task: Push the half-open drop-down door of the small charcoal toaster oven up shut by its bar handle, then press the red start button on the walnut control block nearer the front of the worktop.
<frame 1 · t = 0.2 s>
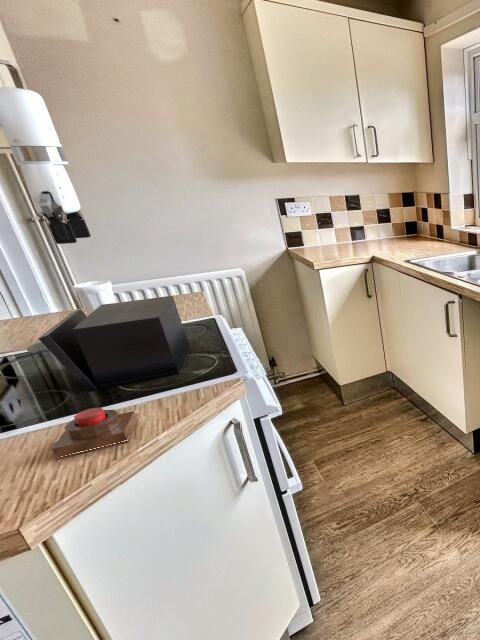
hand: (74, 240, 94), 29 cm above the worktop, tool pointing down, fingers open, 9 cm apart
oven door: (74, 352, 94), point 6 cm above the worktop, hinge at 14.6°
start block: (100, 439, 73), on the worktop
cup: (111, 331, 125), on the worktop
oven: (149, 365, 101), on the worktop
start button: (90, 417, 72), point 4 cm above the worktop, slide at 0.1 cm
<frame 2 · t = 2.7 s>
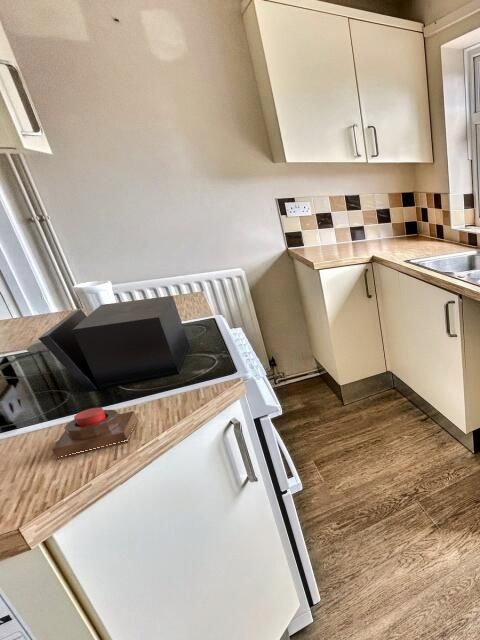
nothing on the worktop moved.
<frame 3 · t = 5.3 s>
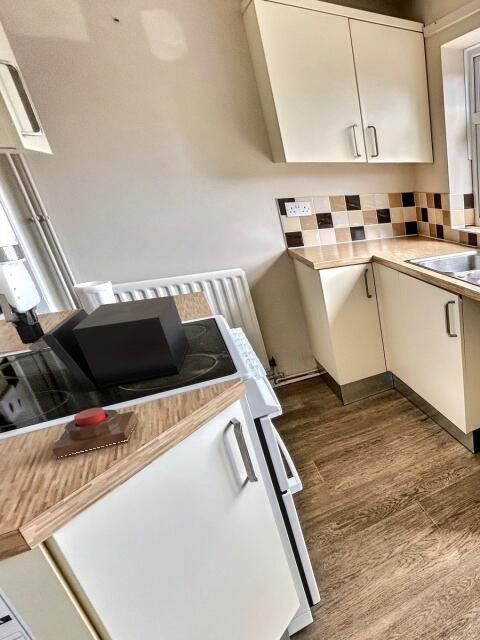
hand: (35, 341, 90), 10 cm above the worktop, tool pointing down, fingers closed
oven door: (75, 351, 94), point 6 cm above the worktop, hinge at 12.5°, touching gripper
everything else where it was.
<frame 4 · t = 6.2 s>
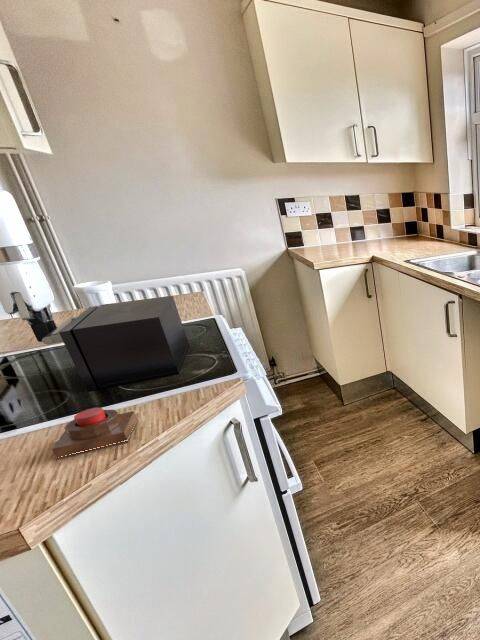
hand: (49, 339, 91), 10 cm above the worktop, tool pointing down, fingers closed
oven door: (82, 348, 94), point 7 cm above the worktop, hinge at 1.0°, touching gripper
everything else where it was.
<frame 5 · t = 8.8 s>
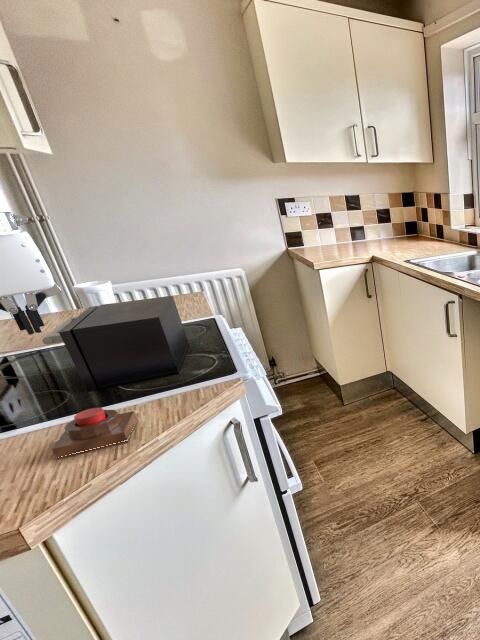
hand: (34, 331, 75), 17 cm above the worktop, tool pointing down, fingers closed
oven door: (82, 348, 94), point 7 cm above the worktop, hinge at 1.0°
everything else where it was.
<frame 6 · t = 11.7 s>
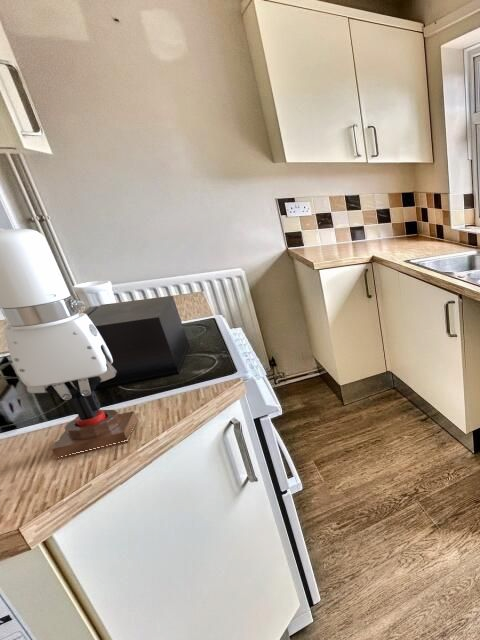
hand: (90, 414, 71), 5 cm above the worktop, tool pointing down, fingers closed
start button: (91, 419, 72), point 4 cm above the worktop, slide at -0.3 cm, touching gripper
everything else where it was.
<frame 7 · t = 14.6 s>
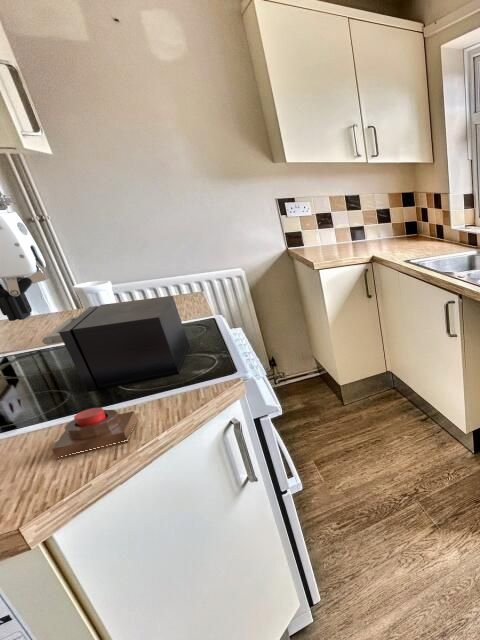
hand: (20, 317, 71), 21 cm above the worktop, tool pointing down, fingers closed
start button: (90, 417, 72), point 4 cm above the worktop, slide at 0.1 cm
everything else where it was.
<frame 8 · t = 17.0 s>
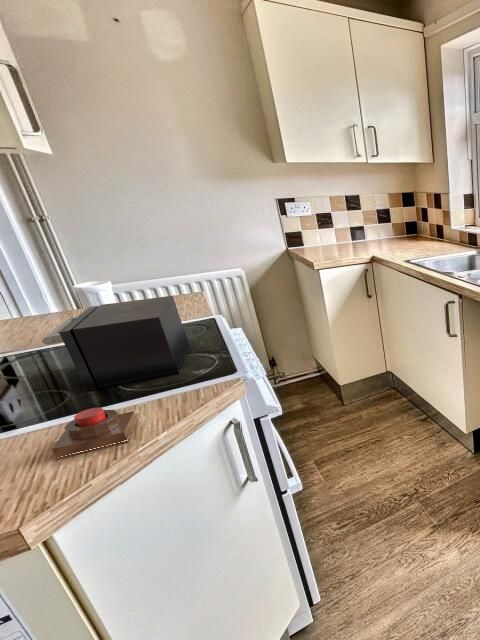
nothing on the worktop moved.
at the end: oven door at +1° (first picture: +15°); start button pushed in 1.1 cm at the most during the clip, back to where it started at the end; start button slide at 0.1 cm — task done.
